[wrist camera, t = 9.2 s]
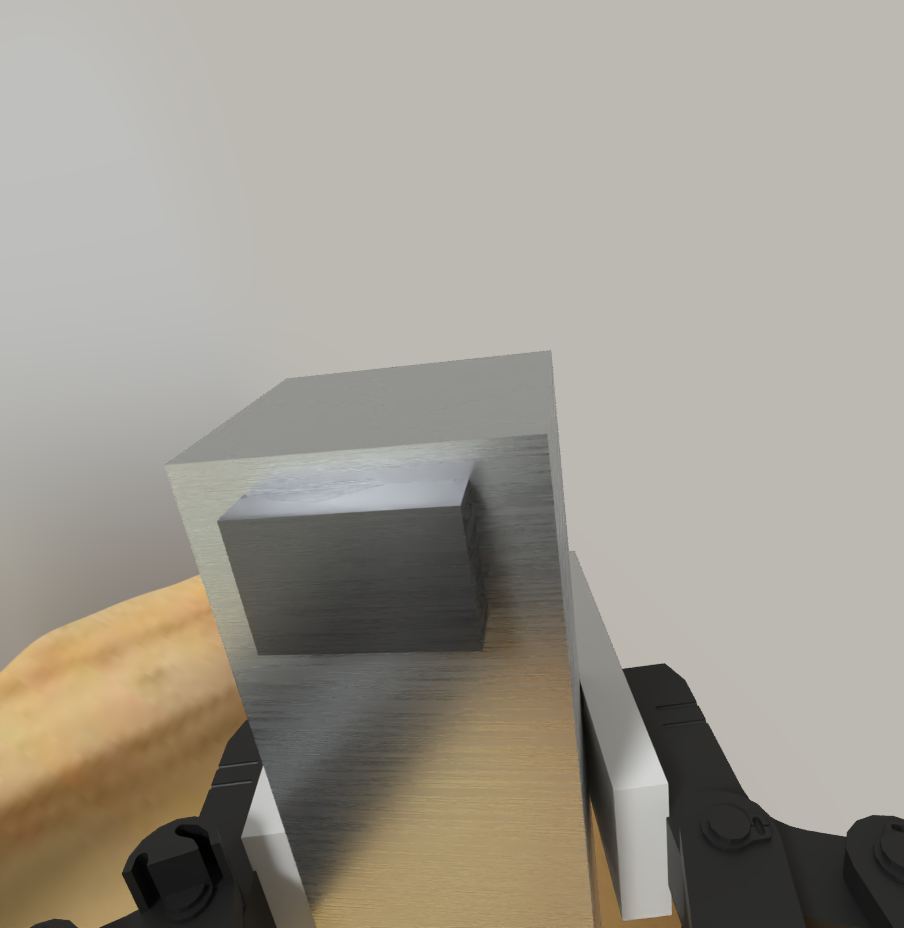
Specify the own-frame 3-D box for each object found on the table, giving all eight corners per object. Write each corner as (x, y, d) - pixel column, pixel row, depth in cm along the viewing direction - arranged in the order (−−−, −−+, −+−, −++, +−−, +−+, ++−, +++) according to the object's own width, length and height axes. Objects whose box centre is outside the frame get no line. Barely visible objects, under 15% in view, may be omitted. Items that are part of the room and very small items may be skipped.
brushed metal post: (401, 1265, 12) (121, 489, 6) (438, 1013, 16) (283, 377, 10) (633, 1304, 11) (559, 456, 6) (614, 1028, 15) (558, 347, 9)
